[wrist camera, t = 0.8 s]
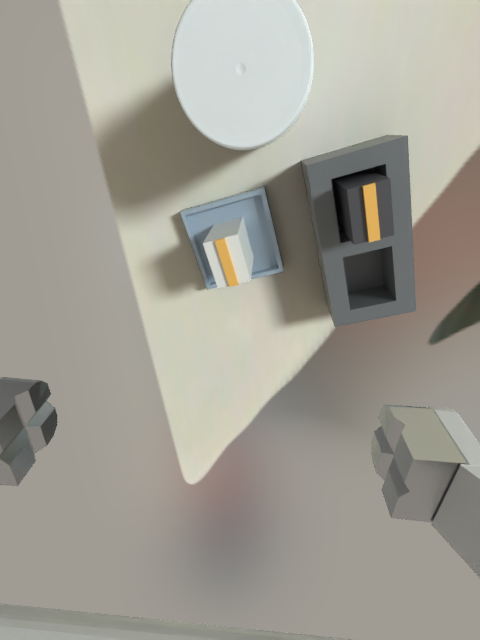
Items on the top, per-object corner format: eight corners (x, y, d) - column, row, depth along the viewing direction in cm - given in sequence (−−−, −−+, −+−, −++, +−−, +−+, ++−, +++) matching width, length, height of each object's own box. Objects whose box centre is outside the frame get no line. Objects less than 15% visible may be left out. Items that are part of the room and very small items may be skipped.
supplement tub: (316, 54, 33) (347, 4, 20) (280, 158, 37) (286, 172, 24) (220, 15, 32) (187, -63, 19) (195, 126, 36) (155, 124, 24)
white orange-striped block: (213, 224, 41) (202, 244, 34) (242, 216, 40) (237, 235, 33) (226, 263, 43) (217, 289, 36) (253, 256, 42) (250, 281, 35)
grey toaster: (301, 160, 37) (310, 169, 29) (387, 135, 36) (424, 136, 27) (327, 304, 45) (340, 344, 37) (398, 289, 44) (430, 327, 35)
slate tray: (182, 209, 41) (180, 212, 39) (264, 186, 39) (264, 188, 37) (209, 285, 45) (207, 289, 44) (283, 267, 43) (283, 271, 42)
